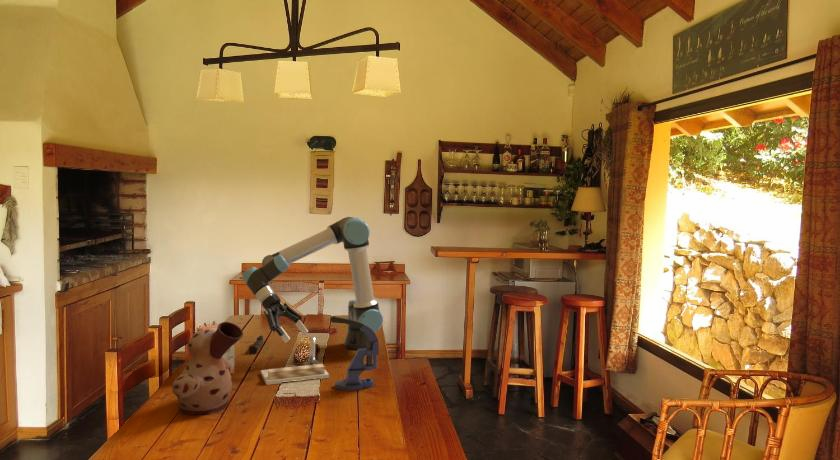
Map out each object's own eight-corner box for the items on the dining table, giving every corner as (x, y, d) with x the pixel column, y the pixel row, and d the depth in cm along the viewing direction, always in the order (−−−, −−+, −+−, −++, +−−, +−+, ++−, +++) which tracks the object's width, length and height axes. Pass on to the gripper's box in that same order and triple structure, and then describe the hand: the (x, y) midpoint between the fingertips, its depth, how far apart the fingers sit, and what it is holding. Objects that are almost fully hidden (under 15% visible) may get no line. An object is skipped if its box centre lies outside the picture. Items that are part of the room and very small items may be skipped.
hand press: (375, 381, 230) (377, 313, 228) (379, 388, 222) (380, 317, 220) (328, 383, 226) (329, 314, 224) (330, 391, 217) (331, 319, 215)
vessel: (196, 391, 214) (196, 312, 212) (255, 393, 214) (255, 314, 212) (159, 422, 186) (158, 331, 183) (226, 424, 185) (226, 333, 183)
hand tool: (257, 354, 263) (257, 344, 263) (248, 354, 263) (248, 344, 263) (267, 343, 282) (267, 334, 282) (259, 343, 282) (259, 334, 282)
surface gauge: (317, 365, 245) (317, 335, 244) (322, 370, 237) (322, 340, 236) (303, 366, 242) (303, 336, 241) (307, 372, 235) (308, 341, 234)
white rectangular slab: (320, 367, 246) (320, 364, 246) (329, 378, 233) (329, 374, 233) (260, 373, 236) (261, 370, 236) (266, 385, 223) (266, 381, 223)
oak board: (322, 370, 237) (322, 363, 237) (324, 373, 233) (324, 366, 233) (268, 376, 228) (268, 369, 228) (269, 379, 224) (269, 372, 224)
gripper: (280, 299, 259) (308, 335, 254) (244, 309, 236) (274, 349, 231) (290, 288, 256) (318, 325, 252) (255, 297, 233) (285, 338, 229)
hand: (297, 337), depth 242 cm, fingers open, 13 cm apart
